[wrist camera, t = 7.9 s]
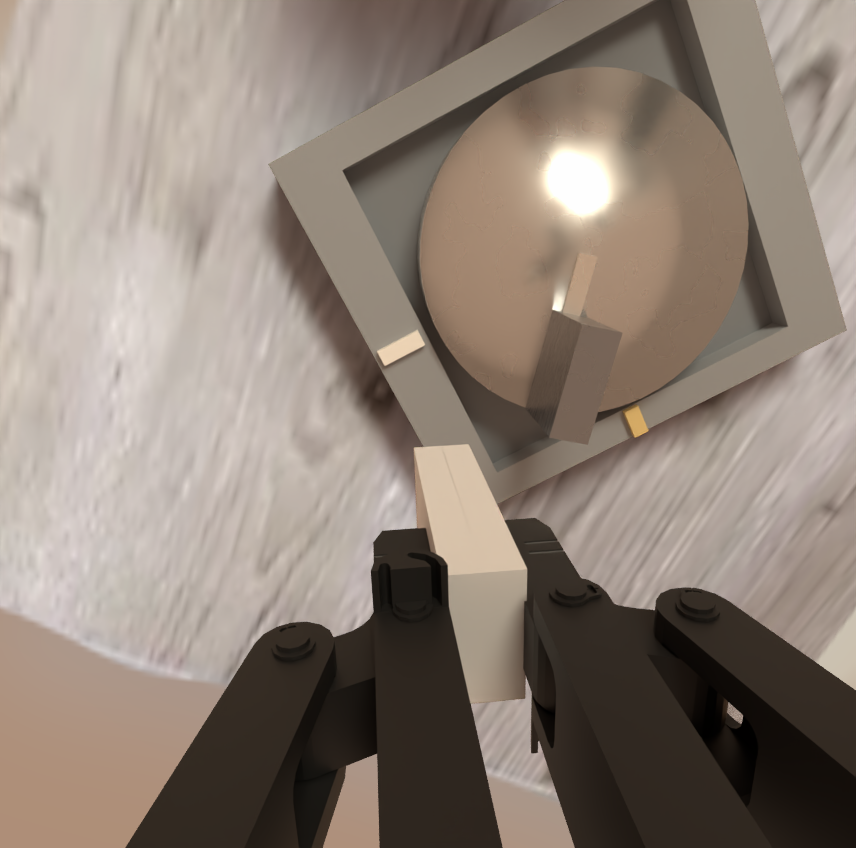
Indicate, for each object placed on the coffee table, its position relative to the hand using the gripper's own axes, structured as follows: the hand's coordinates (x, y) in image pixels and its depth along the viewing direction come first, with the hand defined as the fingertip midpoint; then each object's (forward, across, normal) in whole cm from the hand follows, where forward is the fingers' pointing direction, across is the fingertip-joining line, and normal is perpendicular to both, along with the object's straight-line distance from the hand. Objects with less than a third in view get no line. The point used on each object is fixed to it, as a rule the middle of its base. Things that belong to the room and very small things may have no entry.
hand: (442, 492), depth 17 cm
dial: (+13, +7, +6) cm, 16 cm away
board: (+14, +8, +6) cm, 17 cm away
